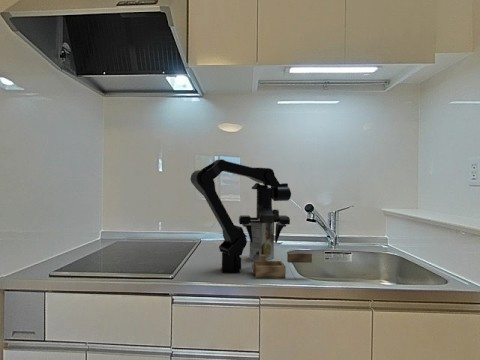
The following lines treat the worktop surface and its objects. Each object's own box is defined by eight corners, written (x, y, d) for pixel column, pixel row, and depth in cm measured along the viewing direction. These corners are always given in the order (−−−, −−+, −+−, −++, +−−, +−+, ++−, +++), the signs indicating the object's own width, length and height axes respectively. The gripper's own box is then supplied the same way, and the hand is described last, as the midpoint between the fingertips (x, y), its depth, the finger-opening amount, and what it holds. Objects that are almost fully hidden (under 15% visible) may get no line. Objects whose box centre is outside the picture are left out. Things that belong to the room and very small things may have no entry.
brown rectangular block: (288, 262, 124) (288, 253, 124) (287, 261, 126) (287, 252, 126) (311, 262, 125) (311, 253, 125) (310, 261, 127) (310, 252, 127)
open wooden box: (256, 278, 124) (256, 266, 123) (253, 272, 131) (253, 260, 131) (285, 278, 124) (285, 266, 124) (280, 271, 132) (281, 260, 132)
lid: (254, 272, 134) (254, 258, 134) (252, 266, 142) (252, 253, 142) (281, 271, 134) (282, 258, 134) (277, 266, 142) (278, 253, 142)
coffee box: (261, 256, 158) (262, 218, 158) (274, 258, 154) (274, 220, 154) (248, 259, 151) (249, 220, 151) (261, 262, 147) (262, 221, 147)
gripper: (241, 202, 130) (240, 247, 130) (293, 203, 131) (293, 246, 132) (238, 200, 141) (238, 241, 141) (287, 200, 143) (286, 241, 143)
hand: (263, 242), depth 139 cm, fingers open, 9 cm apart
